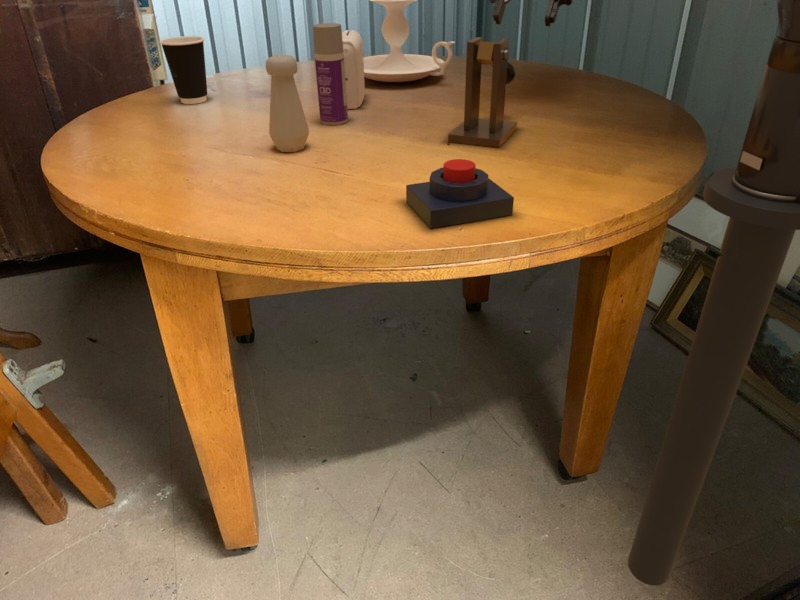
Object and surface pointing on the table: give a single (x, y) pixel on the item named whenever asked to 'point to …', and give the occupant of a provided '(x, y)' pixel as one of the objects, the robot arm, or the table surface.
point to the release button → (459, 171)
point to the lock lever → (486, 58)
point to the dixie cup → (187, 67)
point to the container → (330, 73)
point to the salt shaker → (285, 106)
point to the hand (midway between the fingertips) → (522, 22)
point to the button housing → (458, 200)
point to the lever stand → (474, 127)
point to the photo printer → (353, 68)
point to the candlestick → (396, 62)
